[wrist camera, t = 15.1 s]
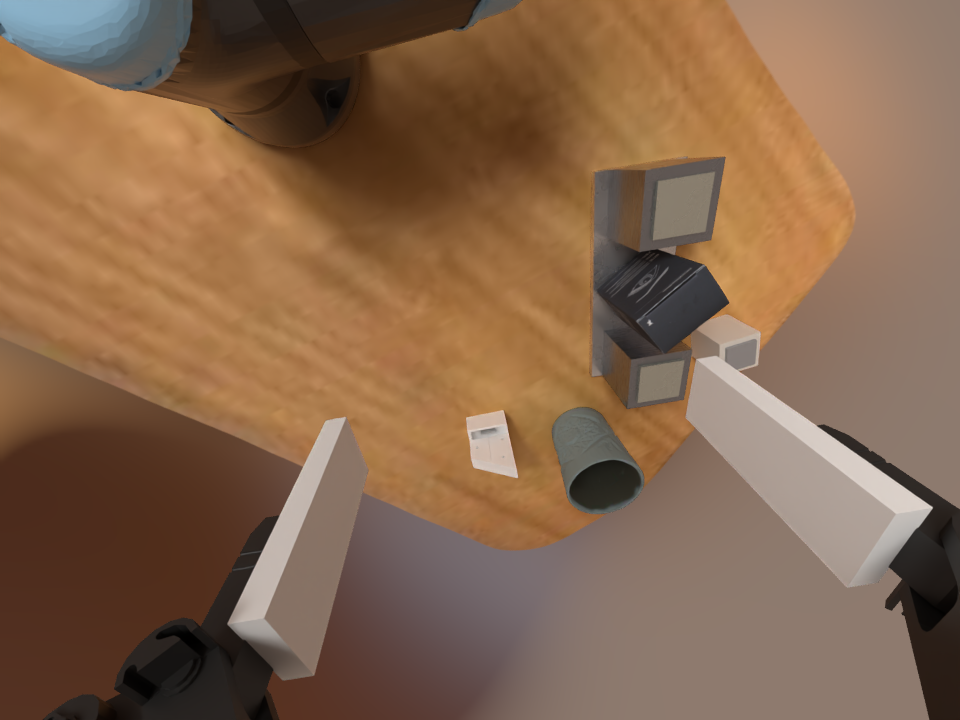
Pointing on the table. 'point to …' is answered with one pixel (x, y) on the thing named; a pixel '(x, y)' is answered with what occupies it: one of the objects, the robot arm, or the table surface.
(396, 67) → the table surface
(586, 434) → the grey green plant pot
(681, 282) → the box
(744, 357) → the block
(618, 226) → the rail plate
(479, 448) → the white slotted bracket
